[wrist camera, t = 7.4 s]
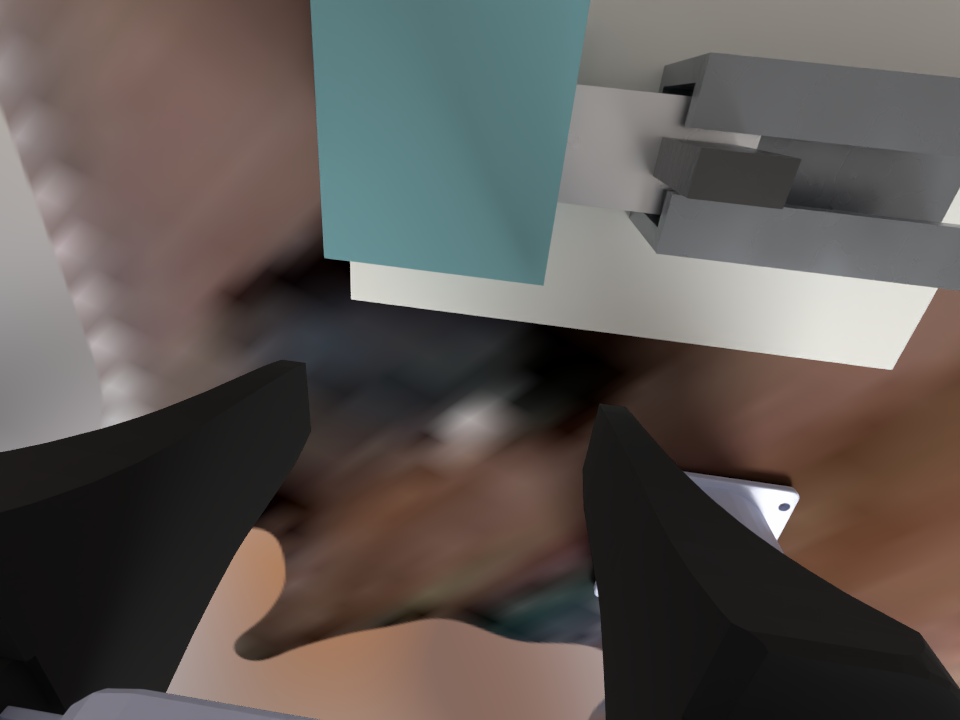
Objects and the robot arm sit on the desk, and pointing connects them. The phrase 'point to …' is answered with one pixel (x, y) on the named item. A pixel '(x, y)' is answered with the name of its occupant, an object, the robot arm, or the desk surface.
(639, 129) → the bar
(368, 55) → the socket
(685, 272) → the base board
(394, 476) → the desk surface
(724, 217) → the grey rail guide
